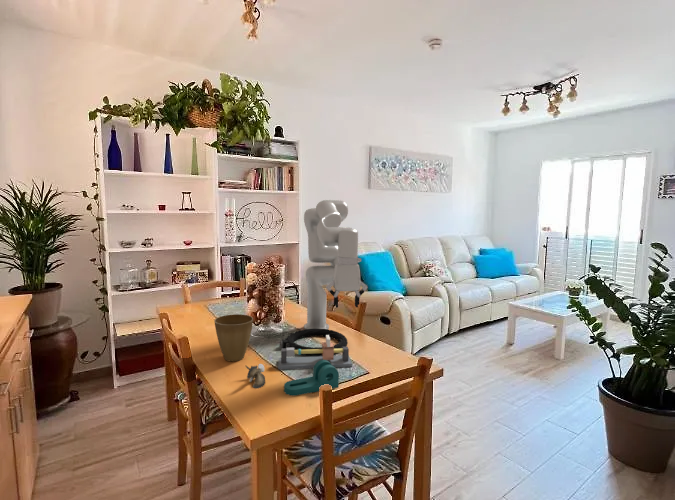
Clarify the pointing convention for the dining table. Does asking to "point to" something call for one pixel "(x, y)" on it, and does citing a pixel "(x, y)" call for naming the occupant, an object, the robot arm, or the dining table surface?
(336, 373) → the bracket
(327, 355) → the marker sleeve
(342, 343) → the cable lock
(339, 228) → the robot arm
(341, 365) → the linear slide rail
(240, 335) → the plant pot
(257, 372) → the grey furry figure
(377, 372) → the dining table surface
